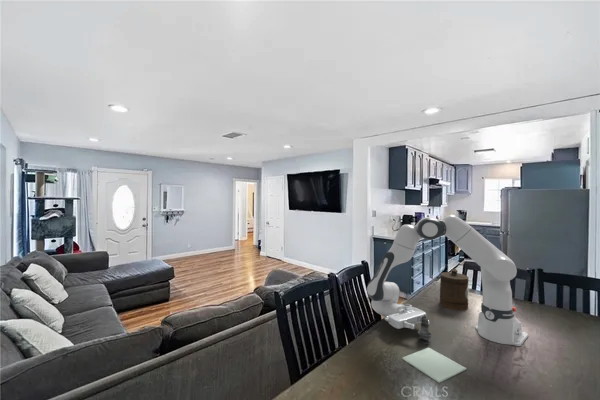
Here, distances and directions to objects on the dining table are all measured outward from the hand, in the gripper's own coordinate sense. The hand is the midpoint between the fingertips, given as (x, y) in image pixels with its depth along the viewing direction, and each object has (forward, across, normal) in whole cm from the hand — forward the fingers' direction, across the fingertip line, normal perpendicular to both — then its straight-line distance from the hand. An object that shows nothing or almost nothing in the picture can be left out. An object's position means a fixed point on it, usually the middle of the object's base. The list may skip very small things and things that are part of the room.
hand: (421, 325), depth 124 cm
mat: (+15, -12, +6) cm, 20 cm away
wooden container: (-18, +51, +7) cm, 54 cm away
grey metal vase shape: (+2, 0, +7) cm, 7 cm away
